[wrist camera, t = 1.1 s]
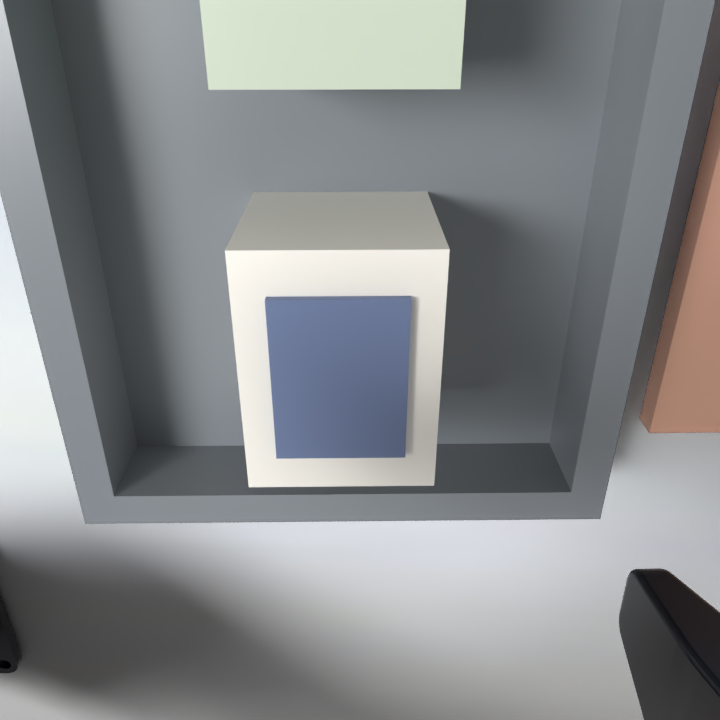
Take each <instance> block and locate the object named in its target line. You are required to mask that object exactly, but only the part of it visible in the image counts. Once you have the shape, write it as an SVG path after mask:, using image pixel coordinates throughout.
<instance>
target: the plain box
mask: <svg viewBox="0 0 720 720" xmlns="http://www.w3.org/2000/svg"><path fill="white" fill-rule="evenodd" d="M200 10H201V20H202V30H203V40H204V50H205V60H206V70H207V80H208V89H209V90H346V89H460V86H461V71H462V56H463V41H464V26H465V11H466V0H200Z"/></svg>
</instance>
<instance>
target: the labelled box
mask: <svg viewBox="0 0 720 720" xmlns="http://www.w3.org/2000/svg"><path fill="white" fill-rule="evenodd" d="M449 253H450V249H449V246H448V244H447V241H446V239H445V236H444V233H443V231H442V228H441V226H440V223H439V221H438V218H437V215H436V213H435V210H434V208H433V205H432V203H431V200H430V197H429V195H428V192H253V194H252V196H251V198H250V200H249V202H248V204H247V206H246V208H245V210H244V212H243V214H242V216H241V218H240V220H239V223H238V225H237V227H236V229H235V231H234V233H233V235H232V237H231V239H230V241H229V243H228V245H227V247H226V249H225V257H226V267H227V277H228V287H229V297H230V307H231V317H232V327H233V336H234V346H235V356H236V366H237V376H238V386H239V396H240V406H241V415H242V425H243V435H244V445H245V455H246V465H247V475H248V485H249V487H334V486H434V481H435V466H436V451H437V435H438V420H439V405H440V390H441V375H442V360H443V344H444V329H445V314H446V299H447V284H448V268H449Z"/></svg>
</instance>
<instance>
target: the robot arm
mask: <svg viewBox="0 0 720 720" xmlns="http://www.w3.org/2000/svg"><path fill="white" fill-rule="evenodd" d="M619 628H620V634H621V638H622V641H623V645H624V649H625V652H626V656H627V659H628V663H629V667H630V670H631V674H632V678H633V681H634V685H635V688H636V692H637V696H638V699H639V703H640V706H641V710H642V714H643V717H644V720H720V612H719V611H717V610H716V609H715V608H714V607H712V606H711V605H710V604H709V603H707V602H706V601H705V600H704V599H703V598H701V597H700V596H699V595H698V594H696V593H695V592H694V591H693V590H691V589H690V588H689V587H688V586H687V585H685V584H684V583H683V582H682V581H680V580H679V579H678V578H677V577H675V576H674V575H673V574H672V573H670V572H669V571H667V570H665V569H635V570H633V571H631V572H630V574H629V575H628V578H627V582H626V587H625V591H624V596H623V600H622V605H621V609H620V614H619ZM21 660H22V655H21V652H20V649H19V647H18V644H17V641H16V638H15V636H14V633H13V630H12V627H11V624H10V622H9V619H8V616H7V613H6V611H5V608H4V605H3V602H2V599H1V597H0V673H11V672H14V671H16V669H17V668H18V666H19V664H20V662H21Z"/></svg>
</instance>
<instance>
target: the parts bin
mask: <svg viewBox="0 0 720 720" xmlns="http://www.w3.org/2000/svg"><path fill="white" fill-rule="evenodd" d="M714 4H715V0H466V11H465V26H464V41H463V56H462V71H461V86H460V89H346V90H209V89H208V80H207V70H206V60H205V50H204V40H203V30H202V20H201V10H200V0H0V193H1V197H2V201H3V205H4V209H5V213H6V217H7V221H8V224H9V228H10V232H11V236H12V240H13V244H14V248H15V252H16V256H17V260H18V263H19V267H20V271H21V275H22V279H23V283H24V287H25V291H26V295H27V298H28V302H29V306H30V310H31V314H32V318H33V322H34V326H35V330H36V333H37V337H38V341H39V345H40V349H41V353H42V357H43V361H44V365H45V368H46V372H47V376H48V380H49V384H50V388H51V392H52V396H53V400H54V404H55V407H56V411H57V415H58V419H59V423H60V427H61V431H62V435H63V439H64V442H65V446H66V450H67V454H68V458H69V462H70V466H71V470H72V474H73V477H74V481H75V485H76V489H77V493H78V497H79V501H80V505H81V509H82V512H83V516H84V520H85V524H105V523H212V522H319V521H425V520H532V519H600V517H601V513H602V508H603V504H604V499H605V495H606V490H607V486H608V481H609V477H610V472H611V468H612V463H613V459H614V454H615V450H616V445H617V441H618V436H619V432H620V427H621V423H622V418H623V414H624V409H625V405H626V400H627V396H628V391H629V387H630V382H631V378H632V373H633V369H634V364H635V360H636V355H637V351H638V346H639V342H640V337H641V333H642V328H643V324H644V319H645V315H646V310H647V306H648V301H649V297H650V292H651V288H652V283H653V278H654V274H655V269H656V265H657V260H658V256H659V251H660V247H661V242H662V238H663V233H664V229H665V224H666V220H667V215H668V211H669V206H670V202H671V197H672V193H673V188H674V184H675V179H676V175H677V170H678V166H679V161H680V157H681V152H682V148H683V143H684V139H685V134H686V130H687V125H688V121H689V116H690V112H691V107H692V103H693V98H694V94H695V89H696V85H697V80H698V76H699V71H700V67H701V62H702V58H703V53H704V49H705V44H706V40H707V35H708V31H709V26H710V22H711V17H712V13H713V8H714ZM253 192H428V195H429V197H430V200H431V203H432V205H433V208H434V210H435V213H436V215H437V218H438V221H439V223H440V226H441V228H442V231H443V233H444V236H445V239H446V241H447V244H448V246H449V249H450V253H449V268H448V284H447V299H446V314H445V329H444V344H443V360H442V375H441V390H440V405H439V420H438V435H437V451H436V466H435V481H434V486H334V487H249V485H248V475H247V465H246V455H245V445H244V435H243V425H242V415H241V406H240V396H239V386H238V376H237V366H236V356H235V346H234V336H233V327H232V317H231V307H230V297H229V287H228V277H227V267H226V257H225V249H226V247H227V245H228V243H229V241H230V239H231V237H232V235H233V233H234V231H235V229H236V227H237V225H238V223H239V220H240V218H241V216H242V214H243V212H244V210H245V208H246V206H247V204H248V202H249V200H250V198H251V196H252V194H253Z"/></svg>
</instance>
